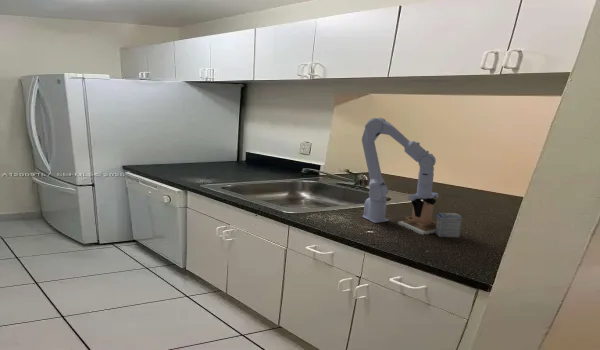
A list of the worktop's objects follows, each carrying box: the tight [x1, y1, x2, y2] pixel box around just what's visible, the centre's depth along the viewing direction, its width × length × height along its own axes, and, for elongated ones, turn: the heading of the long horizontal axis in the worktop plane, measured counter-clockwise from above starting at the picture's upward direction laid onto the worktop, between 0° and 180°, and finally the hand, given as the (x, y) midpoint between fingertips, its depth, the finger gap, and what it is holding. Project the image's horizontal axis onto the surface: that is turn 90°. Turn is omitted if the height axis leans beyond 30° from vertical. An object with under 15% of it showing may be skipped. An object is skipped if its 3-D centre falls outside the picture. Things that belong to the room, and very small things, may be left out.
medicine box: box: [434, 212, 463, 238], centre depth 137 cm, size 8×4×9 cm, turn 92°
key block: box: [411, 200, 434, 225], centre depth 145 cm, size 4×7×8 cm, turn 26°
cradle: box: [397, 215, 437, 236], centre depth 146 cm, size 14×12×3 cm
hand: (421, 215), depth 145 cm, fingers closed on key block, 4 cm apart
